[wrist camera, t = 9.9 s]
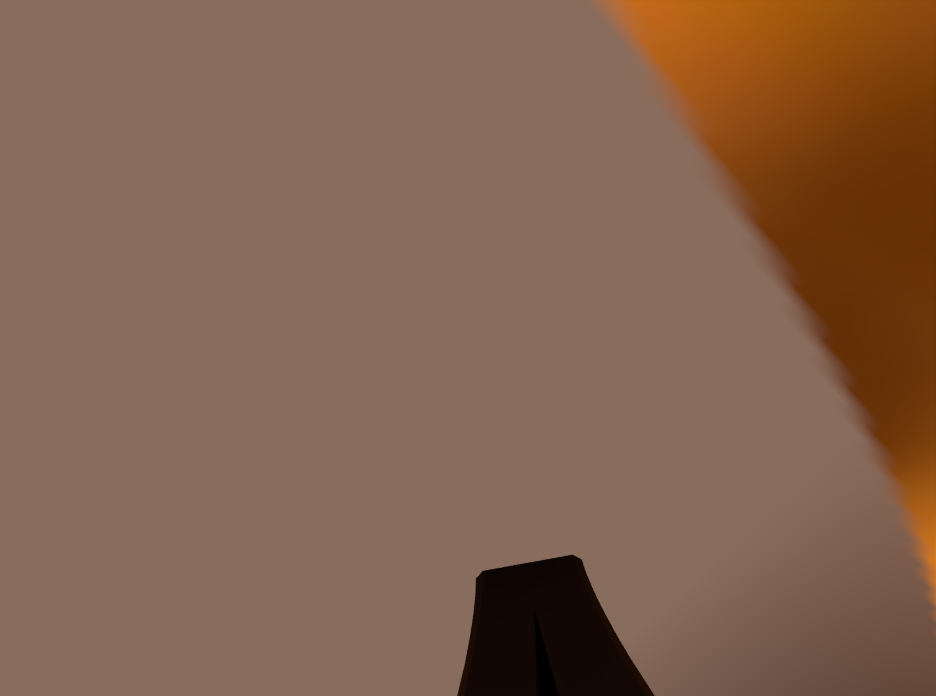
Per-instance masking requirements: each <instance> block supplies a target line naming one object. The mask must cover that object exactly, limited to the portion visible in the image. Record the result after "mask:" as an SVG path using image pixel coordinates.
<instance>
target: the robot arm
mask: <svg viewBox="0 0 936 696" xmlns="http://www.w3.org/2000/svg"><path fill="white" fill-rule="evenodd" d="M457 696H654V694H653V693H652V691H651V690H650V688H649V686H648V685H647V683H646V682H645V680H644V679H643V677H642V675H641V674H640V672H639V671H638V669H637V668H636V666H635V665H634V663H633V661H632V660H631V658H630V657H629V655H628V653H627V652H626V650H625V648H624V647H623V645H622V644H621V642H620V640H619V638H618V637H617V635H616V633H615V631H614V629H613V628H612V626H611V624H610V622H609V620H608V618H607V617H606V615H605V613H604V611H603V609H602V607H601V605H600V603H599V601H598V599H597V597H596V595H595V592H594V590H593V588H592V586H591V583H590V581H589V579H588V576H587V574H586V571H585V568H584V566H583V562H582V560H581V559H580V558H578V557H576V556H574V555H568V556H563V557H557V558H552V559H546V560H541V561H535V562H529V563H524V564H518V565H513V566H507V567H502V568H496V569H491V570H485V571H482V572H481V574H480V575H479V576H478V577H477V578H476V594H475V604H474V614H473V621H472V627H471V635H470V640H469V645H468V650H467V655H466V661H465V666H464V670H463V674H462V678H461V683H460V687H459V691H458V695H457Z"/></svg>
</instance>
